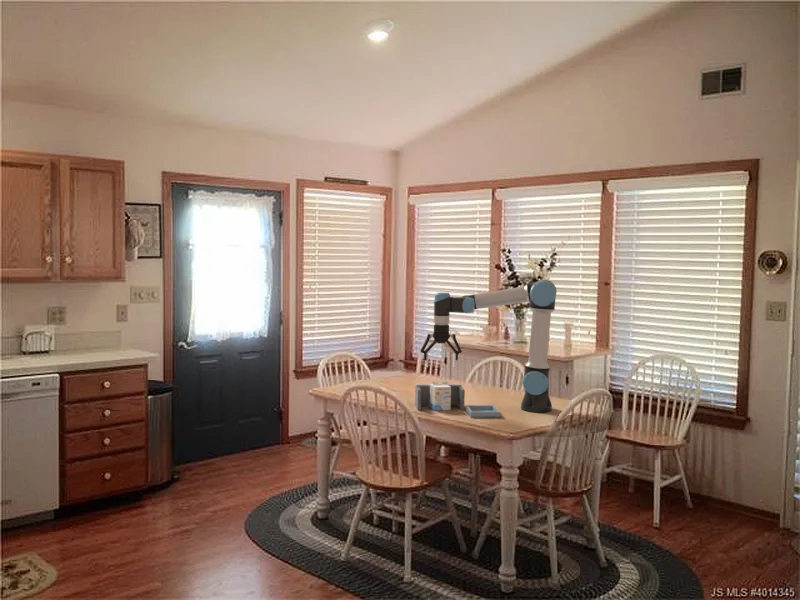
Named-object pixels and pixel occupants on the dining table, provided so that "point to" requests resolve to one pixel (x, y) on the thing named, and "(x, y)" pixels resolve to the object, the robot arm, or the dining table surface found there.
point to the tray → (482, 411)
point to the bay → (424, 395)
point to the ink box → (440, 396)
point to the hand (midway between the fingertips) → (440, 367)
